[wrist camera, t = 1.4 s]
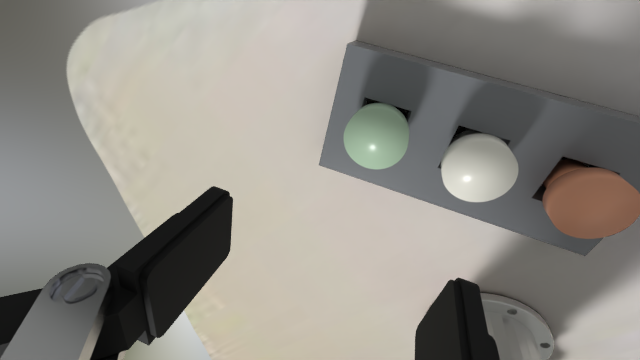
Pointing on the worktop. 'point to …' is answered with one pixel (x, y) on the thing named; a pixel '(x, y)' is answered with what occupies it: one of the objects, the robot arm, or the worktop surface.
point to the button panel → (485, 116)
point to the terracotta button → (589, 200)
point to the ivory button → (478, 167)
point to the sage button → (377, 136)
